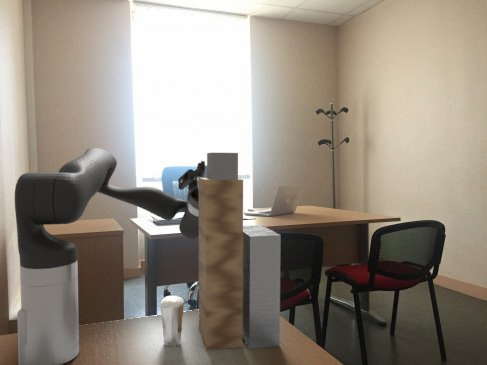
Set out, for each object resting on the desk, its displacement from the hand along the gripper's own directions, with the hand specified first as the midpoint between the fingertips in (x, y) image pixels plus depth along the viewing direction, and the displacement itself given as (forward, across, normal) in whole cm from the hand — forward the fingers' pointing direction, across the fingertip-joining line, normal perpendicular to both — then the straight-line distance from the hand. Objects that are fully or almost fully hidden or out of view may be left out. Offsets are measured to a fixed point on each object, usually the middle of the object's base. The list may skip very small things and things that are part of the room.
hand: (212, 164), depth 87 cm
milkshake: (-9, -9, +35) cm, 37 cm away
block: (+3, 0, +5) cm, 5 cm away
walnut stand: (-10, 0, +35) cm, 36 cm away
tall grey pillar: (-9, +8, +35) cm, 37 cm away
